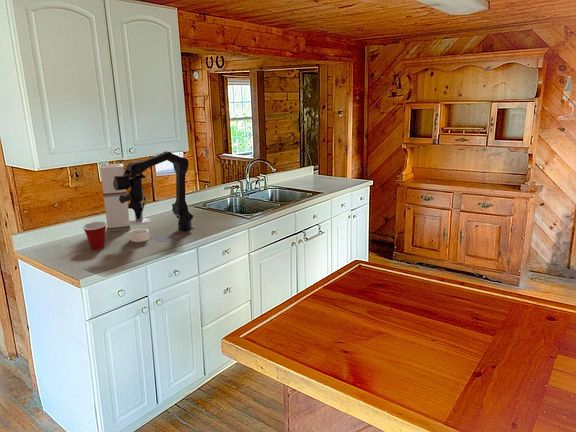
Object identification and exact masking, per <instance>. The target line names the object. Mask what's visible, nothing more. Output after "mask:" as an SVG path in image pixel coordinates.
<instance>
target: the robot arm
mask: <svg viewBox="0 0 576 432" xmlns="http://www.w3.org/2000/svg"><path fill="white" fill-rule="evenodd" d="M167 161H168V162H169V163H170V164H172V165H173V169H174V173H175V177H176V178H175V186H176V187H175V191H176V192H175V196H176V197H175V202H174V203H172V204H171V205H172V206H171V207H172V209H171V211H172V213H173V215H175V216H176V218H177V219H178V221H177V224H178V225H177V226H178V228H177V229H176V231H180V232H188V231H191V230H194V227H192V220H193V218H194V215H193V214H191V212H189V207H188V204H187V202H186V174H187V172H188V170H189V164H190V163H189V162H190V161H189V159H187V157H182V156H178V155H177V154H174V153H172V152H171V151H166V150H164V151H163V152H161V153H159V154H155V155H153V156H151V157H148V158H146V159H142V160H135V161H131V162H129V163H127V165H126V169H125V170H124V174H123V176H114V181H113V186H114V189H115V190H124V189H126V190H128V189H129V192H128V193H127V192H126V194H125V195H124V194H123V195H121V196H120V197H119V201H120V202H121V204H122V203H124V202H126V201H127V202H129V203H127V204H128V210H130V209H132V210H133V212H134V215H135V214H136V217H137V219H140V217H141V213H144V212H143V211H144V208H145V204H146V202H147V196H146V195H145V194H144V193H143V192H144V188H143V179H146V178H147V177H146V176H145V175H144V174H143V173H144V172H145V171H146V170H147V169H149V168H152V167H153V166H157V165H159V164H161V163H164V162H167ZM143 201H144V202H143Z"/></svg>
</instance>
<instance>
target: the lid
mask: <svg viewBox="0 0 576 432" xmlns="http://www.w3.org/2000/svg"><path fill="white" fill-rule="evenodd" d="M143 213H144V212H142V213H141V217H140V219H137V217H136V214H135V213H134V216H135V217H134V218H133V219H129V221H128V224H129V225H130V226H143V225H144V226H145V225H147V224H150V223H151V222H152V219H150V218H146V217H143Z"/></svg>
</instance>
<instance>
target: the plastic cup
mask: <svg viewBox="0 0 576 432" xmlns="http://www.w3.org/2000/svg"><path fill="white" fill-rule="evenodd" d="M81 228H82V230H84V233H85V235H86V238H87V240H88V243H89V246H90V249H91V250H93V251H101V250H103V249H105V245H106V244H105V243H106V242H105V241H106V230H107V229H106V228H107V221H93V222H89V223H85V224H84V225H82V227H81Z"/></svg>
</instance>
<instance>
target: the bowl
mask: <svg viewBox="0 0 576 432" xmlns="http://www.w3.org/2000/svg"><path fill="white" fill-rule="evenodd" d="M129 237H130V241H131V242H134V243H141V242H145V241H149V239H150V231H149V229H148V228H138V229H137V228H136V229H132V230H130V231H129Z"/></svg>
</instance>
